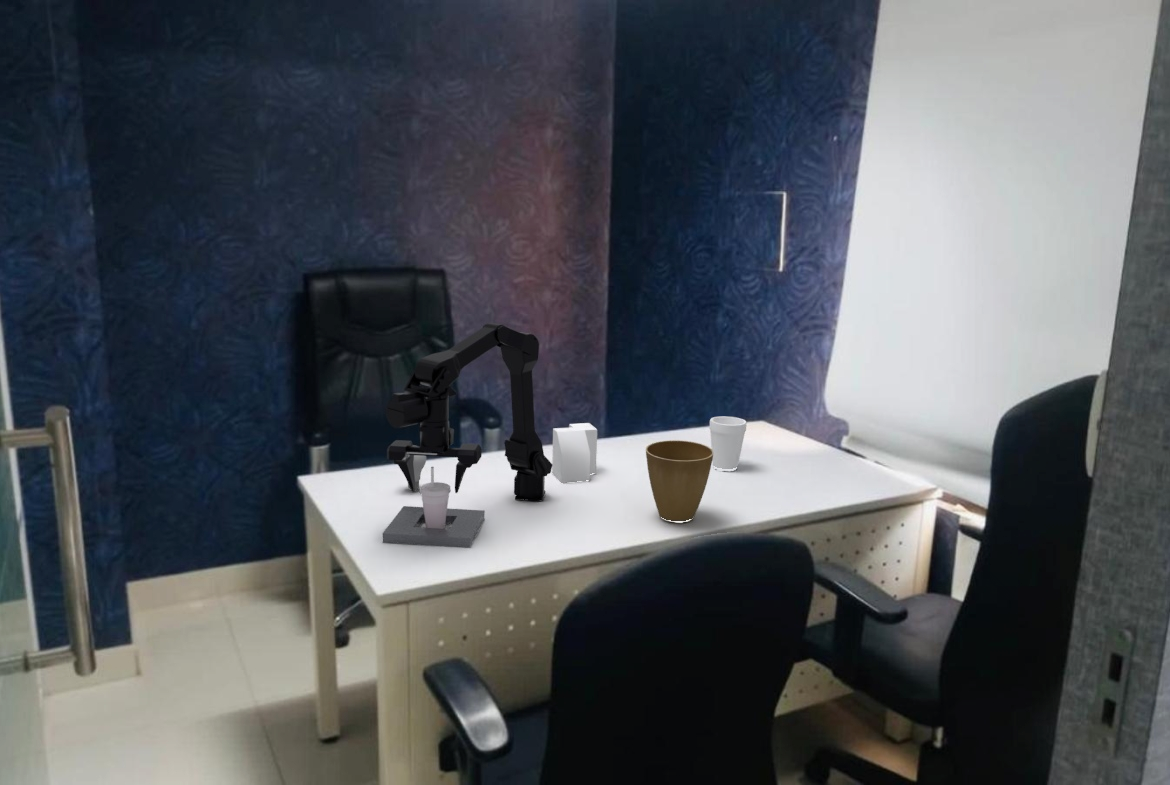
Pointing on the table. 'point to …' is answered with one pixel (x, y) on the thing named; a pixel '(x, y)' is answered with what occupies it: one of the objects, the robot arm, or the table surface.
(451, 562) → the table surface
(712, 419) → the foam cup
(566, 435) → the white block
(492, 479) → the table surface
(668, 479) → the plant pot
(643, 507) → the table surface
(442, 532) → the square plate with hole
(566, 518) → the table surface
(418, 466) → the lightbulb
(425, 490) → the smoothie
